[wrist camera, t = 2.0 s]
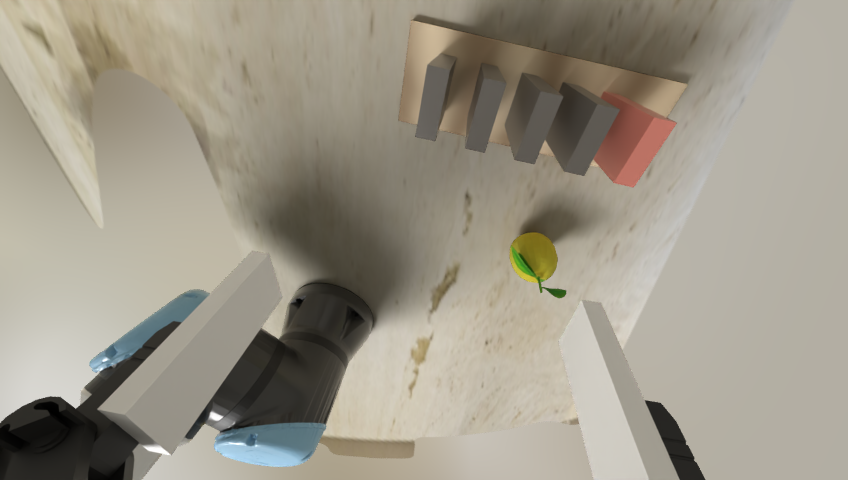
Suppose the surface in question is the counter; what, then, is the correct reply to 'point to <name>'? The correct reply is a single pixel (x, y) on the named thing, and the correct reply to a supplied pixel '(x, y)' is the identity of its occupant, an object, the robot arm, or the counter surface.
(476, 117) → the domino
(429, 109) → the domino
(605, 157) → the domino
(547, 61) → the board
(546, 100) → the domino
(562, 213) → the counter surface
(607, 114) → the domino
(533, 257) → the lemon
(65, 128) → the counter surface
